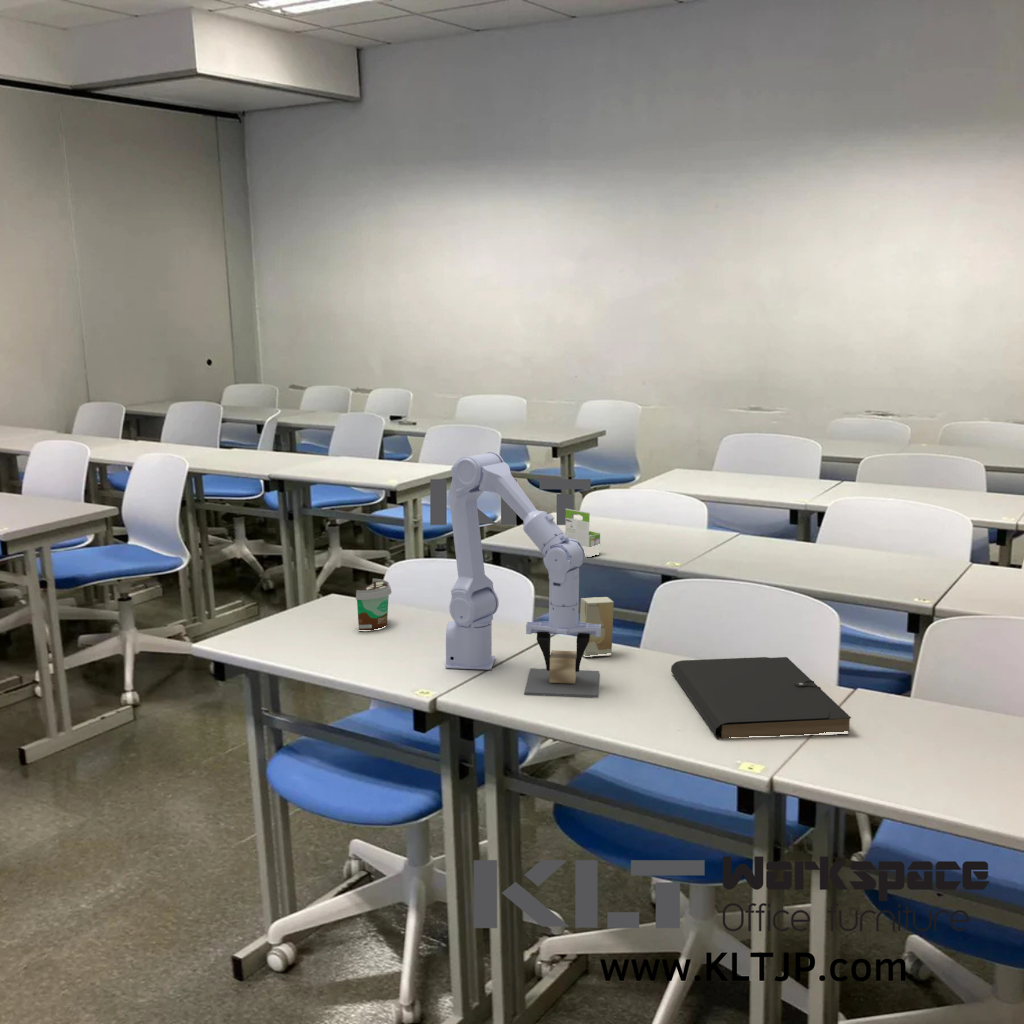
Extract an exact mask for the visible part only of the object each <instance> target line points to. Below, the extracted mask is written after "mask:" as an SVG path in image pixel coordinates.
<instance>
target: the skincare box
mask: <svg viewBox="0 0 1024 1024" xmlns="http://www.w3.org/2000/svg"><path fill="white" fill-rule="evenodd" d="M614 603H615V602H614V601H613V600H612V599H611V598H610V597H608V596H601V597H599V596H598V597H596V596H595V597H594V596H593V597H585V598H584V597H581V598H580V608H579V609H580V611H579V612H580V617H579V622H583V623H590V624H601V636H600V637H596V636H595V635H590V640H589V643H588V645H587V647H586V649H585V651H584V653H583V655H585V656H590V655H598V654H607V653H613V651H612V649H613V647H612V646H613V632H614V631H613V630H614V629H613V628H614V627H613V625H614Z"/></svg>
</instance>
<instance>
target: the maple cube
mask: <svg viewBox="0 0 1024 1024" xmlns="http://www.w3.org/2000/svg"><path fill="white" fill-rule="evenodd" d="M576 657H577V650H550V683H574V684H575V681H576V672H575V671H576Z"/></svg>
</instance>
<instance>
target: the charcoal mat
mask: <svg viewBox="0 0 1024 1024" xmlns="http://www.w3.org/2000/svg"><path fill="white" fill-rule="evenodd" d="M599 681H600V671H599V670H589V669H588V670H587V669H586V670H584V669H583V670H581V669H579V672H576V681H575V684H574V683H550V671H547V669H546V668H535V667H534V668H532V667H531V668H529V673H528V677H527V679H526V685H525V687H524V688H525V689H524V692H523V695H524V696H543V695H545V696H547V697H548V696H549V697H571V698H592V697H598V696H599V684H598V683H600V682H599ZM598 698H599V697H598Z"/></svg>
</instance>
